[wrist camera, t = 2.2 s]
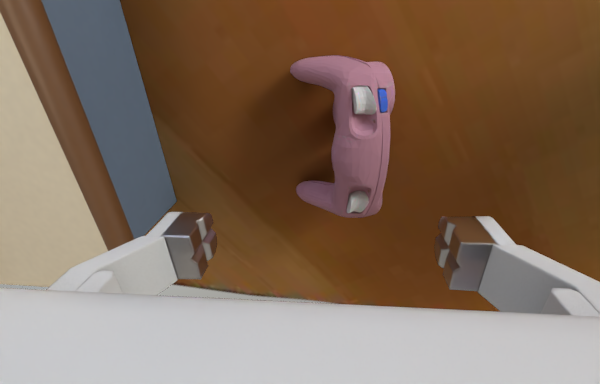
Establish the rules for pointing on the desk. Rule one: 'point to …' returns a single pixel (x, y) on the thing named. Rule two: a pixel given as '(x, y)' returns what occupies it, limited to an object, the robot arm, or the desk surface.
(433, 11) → the desk surface
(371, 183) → the video game controller
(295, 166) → the desk surface
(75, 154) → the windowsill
